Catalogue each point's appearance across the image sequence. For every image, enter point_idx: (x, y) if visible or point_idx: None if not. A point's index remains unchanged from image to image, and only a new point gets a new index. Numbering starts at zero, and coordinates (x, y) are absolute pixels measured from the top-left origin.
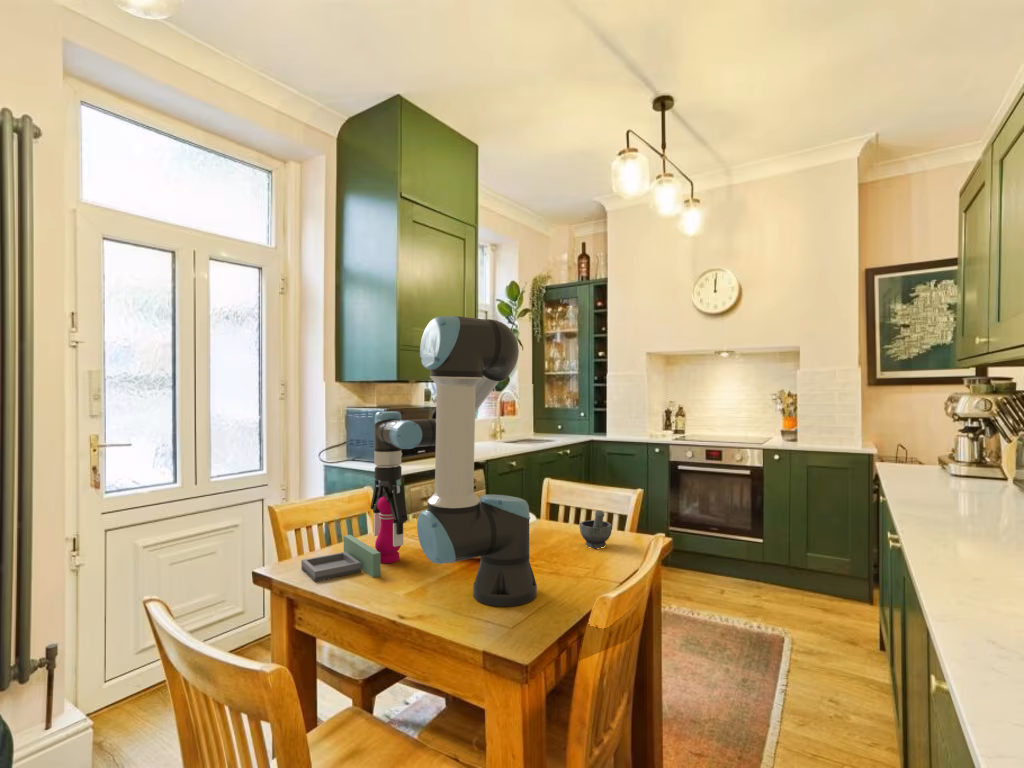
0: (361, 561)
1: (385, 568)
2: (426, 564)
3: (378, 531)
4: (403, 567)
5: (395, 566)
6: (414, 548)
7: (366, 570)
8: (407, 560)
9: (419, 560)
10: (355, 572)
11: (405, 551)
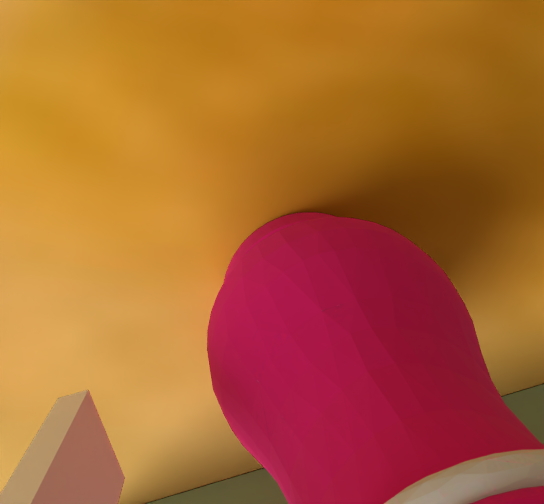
0: None
1: None
2: (534, 34)
3: (98, 476)
4: (511, 215)
5: (464, 263)
6: (46, 15)
7: None
8: (373, 156)
9: (416, 63)
10: None
11: (120, 122)
